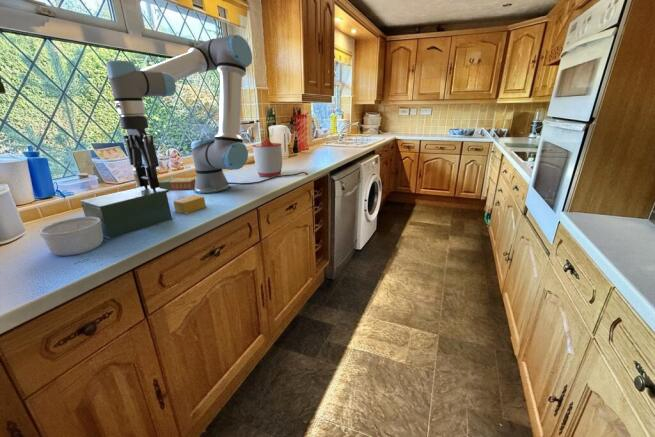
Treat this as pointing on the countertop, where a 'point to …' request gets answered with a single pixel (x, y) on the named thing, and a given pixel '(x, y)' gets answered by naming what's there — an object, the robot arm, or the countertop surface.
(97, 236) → the ramekin
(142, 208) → the green lidded box
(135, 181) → the sprinkles bottle
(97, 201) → the bin lid
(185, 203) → the block
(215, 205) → the countertop surface
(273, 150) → the citrus juicer
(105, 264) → the countertop surface
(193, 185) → the carton
